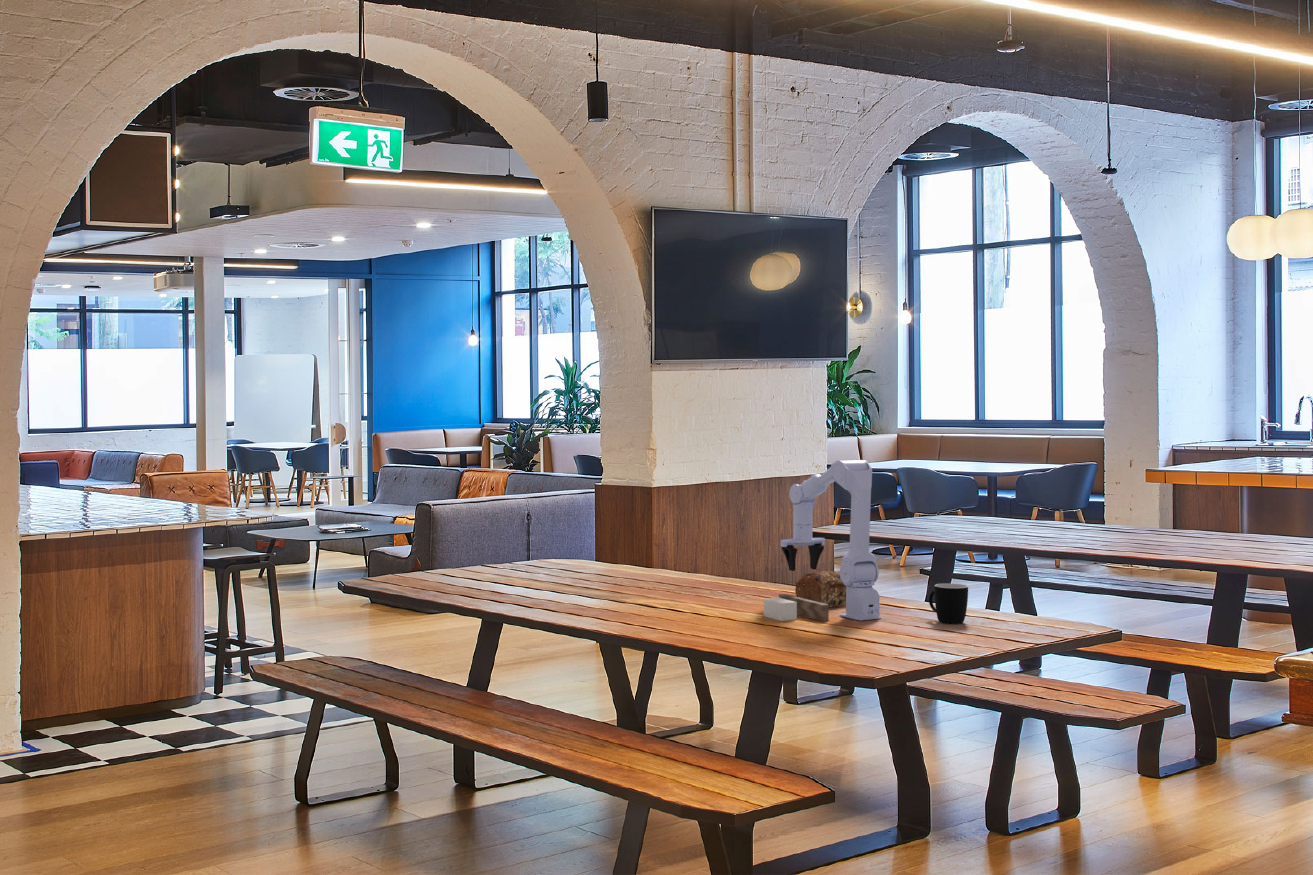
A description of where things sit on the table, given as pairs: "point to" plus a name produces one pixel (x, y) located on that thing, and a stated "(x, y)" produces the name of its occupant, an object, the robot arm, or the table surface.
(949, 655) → the table surface
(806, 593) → the bread
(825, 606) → the board
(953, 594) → the mug
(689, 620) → the table surface
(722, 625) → the table surface
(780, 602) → the block
